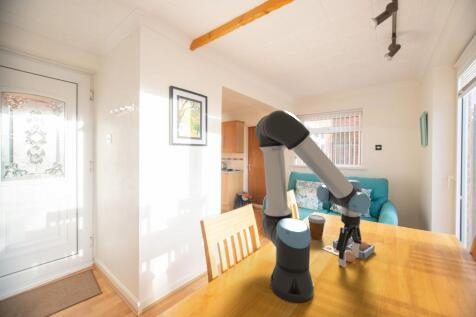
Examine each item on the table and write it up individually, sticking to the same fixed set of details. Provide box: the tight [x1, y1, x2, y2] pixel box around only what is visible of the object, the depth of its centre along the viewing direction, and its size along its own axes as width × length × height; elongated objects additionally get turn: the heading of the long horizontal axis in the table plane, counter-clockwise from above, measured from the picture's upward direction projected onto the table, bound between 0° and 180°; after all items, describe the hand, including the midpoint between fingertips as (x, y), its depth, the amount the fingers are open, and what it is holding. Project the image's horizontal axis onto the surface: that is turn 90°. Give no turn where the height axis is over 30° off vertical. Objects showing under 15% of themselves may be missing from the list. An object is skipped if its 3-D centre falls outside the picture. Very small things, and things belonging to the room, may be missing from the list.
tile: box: [321, 245, 339, 256], centre depth 101 cm, size 6×8×1 cm
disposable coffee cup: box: [307, 214, 326, 241], centre depth 116 cm, size 10×10×12 cm
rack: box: [332, 237, 375, 260], centre depth 103 cm, size 13×15×3 cm
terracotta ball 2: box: [359, 240, 369, 252], centre depth 102 cm, size 5×5×5 cm
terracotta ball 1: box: [345, 250, 356, 263], centre depth 91 cm, size 5×5×5 cm
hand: (348, 261), depth 91 cm, fingers open, 12 cm apart
